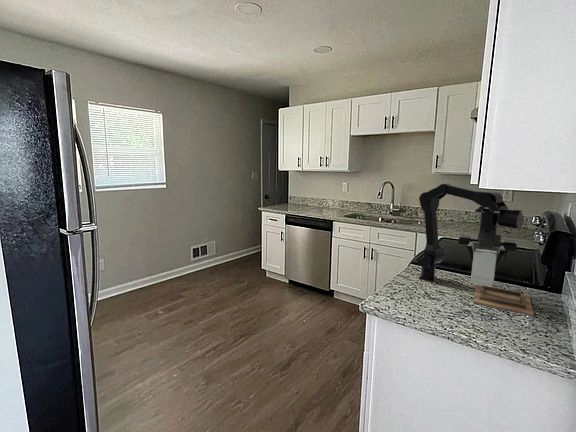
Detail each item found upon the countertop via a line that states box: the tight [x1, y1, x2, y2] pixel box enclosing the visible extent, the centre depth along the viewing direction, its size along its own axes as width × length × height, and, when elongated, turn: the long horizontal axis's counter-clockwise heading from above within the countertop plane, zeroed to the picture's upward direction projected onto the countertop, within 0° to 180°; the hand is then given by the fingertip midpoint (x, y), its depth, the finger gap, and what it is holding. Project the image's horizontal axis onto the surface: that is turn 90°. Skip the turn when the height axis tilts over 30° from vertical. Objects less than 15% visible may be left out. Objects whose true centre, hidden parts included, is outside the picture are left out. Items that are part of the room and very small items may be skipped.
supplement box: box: [470, 248, 498, 287], centre depth 122 cm, size 7×7×13 cm
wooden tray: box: [472, 284, 534, 317], centre depth 120 cm, size 20×18×2 cm
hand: (484, 264), depth 121 cm, fingers closed on supplement box, 7 cm apart
